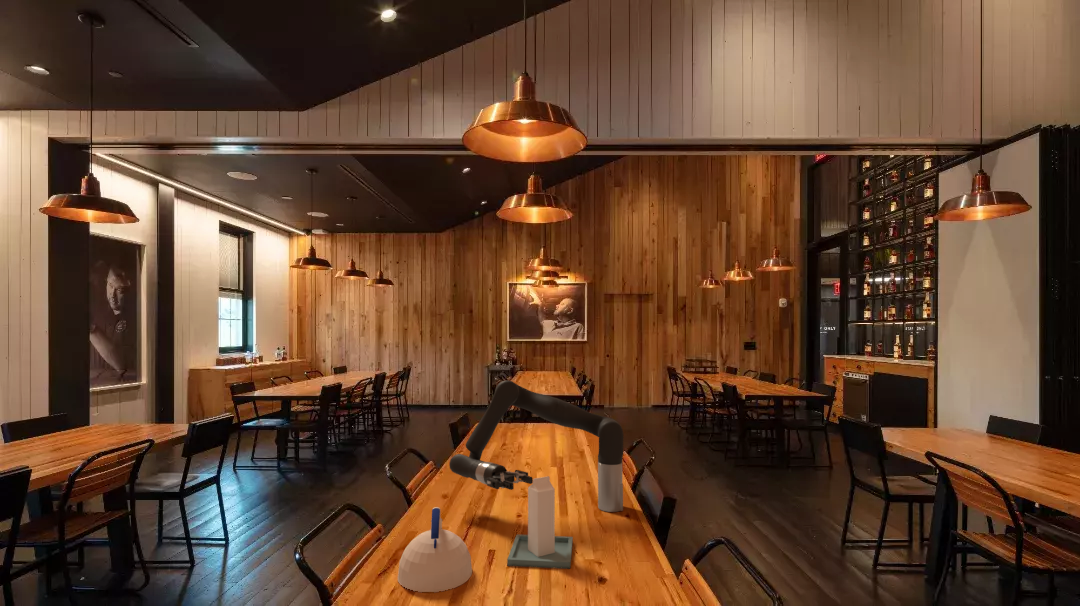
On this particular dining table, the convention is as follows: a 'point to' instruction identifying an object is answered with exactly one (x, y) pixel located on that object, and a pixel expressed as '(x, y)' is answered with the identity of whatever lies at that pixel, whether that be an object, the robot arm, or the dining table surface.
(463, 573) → the dome with blue handle
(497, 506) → the dining table surface
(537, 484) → the milk
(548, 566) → the tray
